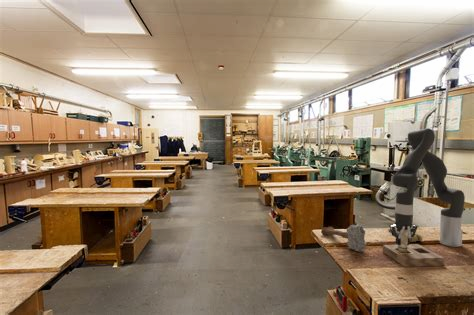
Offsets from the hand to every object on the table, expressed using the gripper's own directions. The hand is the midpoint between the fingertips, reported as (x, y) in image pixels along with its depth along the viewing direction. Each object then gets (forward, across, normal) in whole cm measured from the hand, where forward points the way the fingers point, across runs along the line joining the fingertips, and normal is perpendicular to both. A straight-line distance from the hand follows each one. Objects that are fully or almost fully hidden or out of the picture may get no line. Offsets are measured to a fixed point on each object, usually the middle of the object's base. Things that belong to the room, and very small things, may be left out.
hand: (402, 244), depth 123 cm
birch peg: (+6, 0, 0) cm, 6 cm away
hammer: (+8, +20, -22) cm, 31 cm away
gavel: (+8, -22, -29) cm, 37 cm away
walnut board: (+7, -5, 0) cm, 9 cm away
